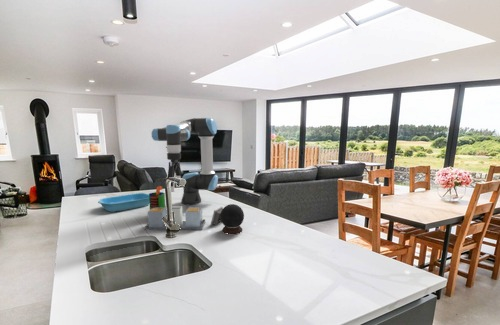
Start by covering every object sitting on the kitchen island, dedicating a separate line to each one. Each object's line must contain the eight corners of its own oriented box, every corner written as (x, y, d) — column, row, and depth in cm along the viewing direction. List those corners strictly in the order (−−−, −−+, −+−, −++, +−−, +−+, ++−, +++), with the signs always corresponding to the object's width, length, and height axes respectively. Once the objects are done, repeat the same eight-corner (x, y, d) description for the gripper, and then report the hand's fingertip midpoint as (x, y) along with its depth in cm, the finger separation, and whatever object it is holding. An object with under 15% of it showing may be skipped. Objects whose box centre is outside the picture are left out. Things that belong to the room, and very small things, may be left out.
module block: (172, 222, 156) (171, 205, 155) (182, 222, 156) (182, 205, 155) (169, 226, 150) (169, 208, 149) (180, 226, 150) (179, 208, 149)
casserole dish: (145, 199, 214) (145, 191, 213) (157, 205, 198) (157, 195, 197) (94, 208, 188) (93, 199, 187) (104, 216, 172) (103, 205, 172)
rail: (152, 223, 158) (151, 205, 157) (205, 222, 159) (204, 205, 158) (145, 229, 148) (144, 211, 146) (202, 229, 148) (201, 211, 147)
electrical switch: (218, 219, 165) (219, 205, 163) (225, 221, 163) (226, 207, 161) (210, 224, 156) (211, 209, 155) (218, 226, 154) (219, 211, 153)
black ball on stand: (215, 230, 147) (215, 204, 145) (233, 224, 156) (233, 200, 154) (231, 237, 137) (230, 209, 136) (248, 230, 147) (248, 204, 145)
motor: (146, 218, 166) (145, 187, 164) (156, 214, 175) (154, 185, 172) (160, 220, 163) (158, 189, 161) (169, 216, 171) (167, 186, 169)
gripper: (173, 150, 160) (174, 184, 163) (160, 154, 136) (161, 194, 138) (185, 150, 161) (186, 184, 163) (174, 154, 136) (176, 194, 138)
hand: (175, 189), depth 151 cm, fingers open, 13 cm apart
